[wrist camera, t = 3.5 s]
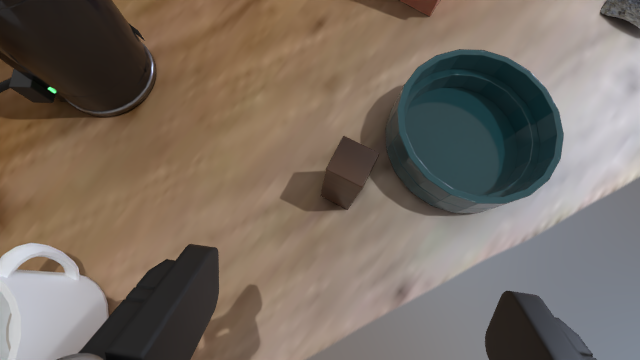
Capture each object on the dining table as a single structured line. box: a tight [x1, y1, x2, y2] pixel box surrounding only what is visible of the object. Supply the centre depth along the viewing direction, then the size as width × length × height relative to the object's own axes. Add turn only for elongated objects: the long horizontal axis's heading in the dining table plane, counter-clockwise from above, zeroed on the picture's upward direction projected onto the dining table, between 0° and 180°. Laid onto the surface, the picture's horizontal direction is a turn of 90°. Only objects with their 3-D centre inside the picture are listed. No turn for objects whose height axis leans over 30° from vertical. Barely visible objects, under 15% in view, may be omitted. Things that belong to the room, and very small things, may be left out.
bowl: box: [386, 49, 564, 213], centre depth 33 cm, size 15×15×6 cm
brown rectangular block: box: [321, 136, 379, 209], centre depth 29 cm, size 3×3×9 cm
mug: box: [0, 243, 109, 360], centre depth 25 cm, size 11×9×10 cm
